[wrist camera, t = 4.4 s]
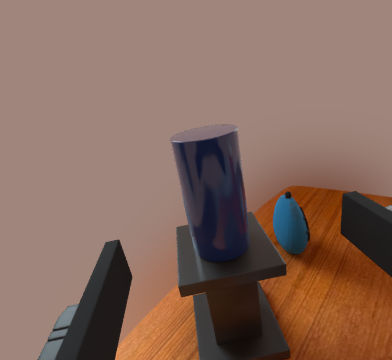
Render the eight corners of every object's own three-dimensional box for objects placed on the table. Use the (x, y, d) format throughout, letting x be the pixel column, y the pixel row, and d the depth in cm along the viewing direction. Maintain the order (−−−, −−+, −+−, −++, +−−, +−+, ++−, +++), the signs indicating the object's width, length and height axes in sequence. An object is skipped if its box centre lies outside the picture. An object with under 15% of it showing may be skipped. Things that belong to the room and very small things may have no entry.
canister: (197, 268, 21) (171, 146, 17) (190, 233, 26) (168, 133, 22) (259, 253, 21) (247, 130, 17) (239, 221, 26) (227, 121, 22)
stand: (202, 377, 24) (178, 286, 19) (194, 302, 32) (176, 226, 28) (290, 358, 24) (286, 263, 19) (259, 288, 32) (251, 211, 28)
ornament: (317, 262, 34) (319, 202, 31) (285, 267, 35) (283, 207, 31) (295, 230, 42) (293, 178, 38) (268, 234, 42) (265, 183, 39)
